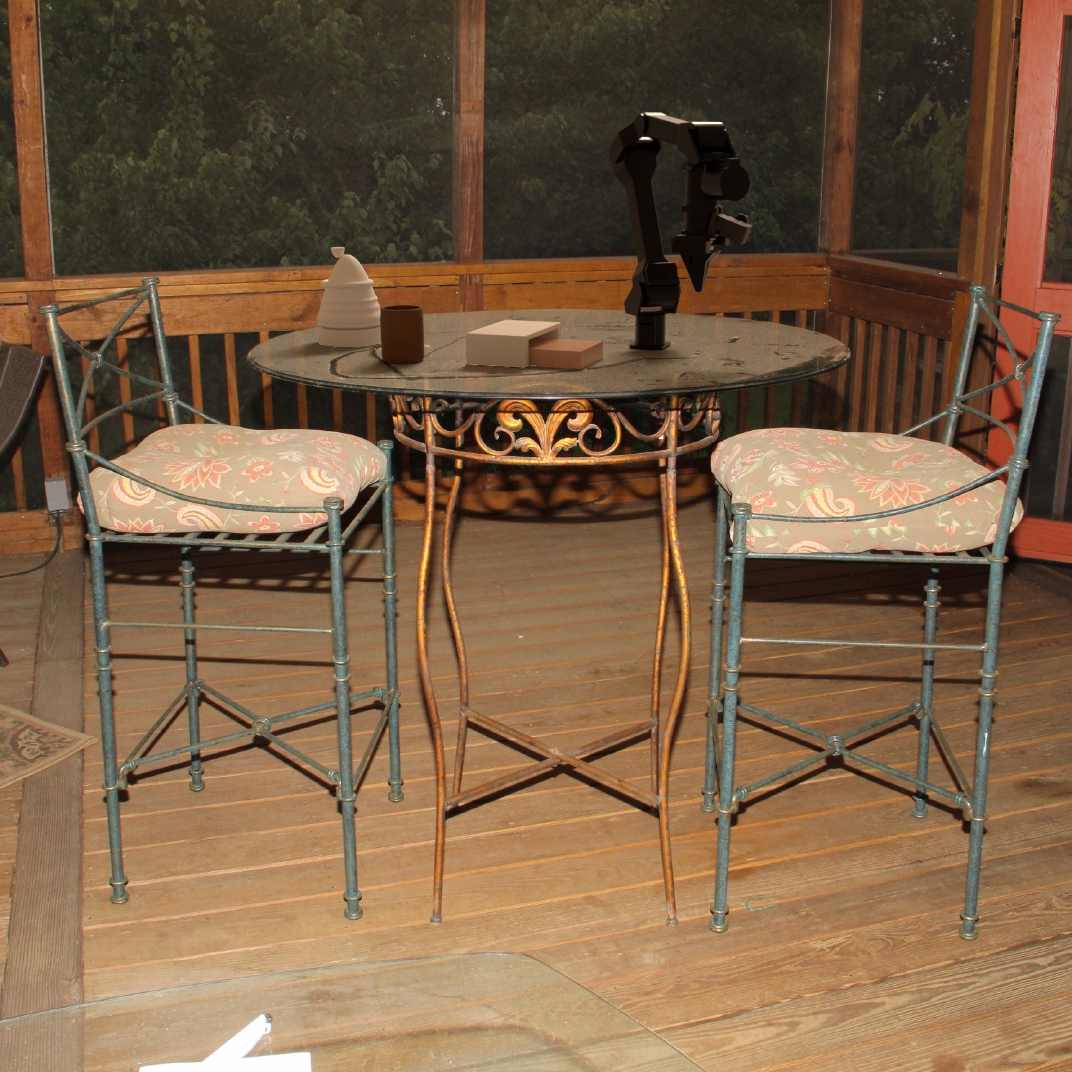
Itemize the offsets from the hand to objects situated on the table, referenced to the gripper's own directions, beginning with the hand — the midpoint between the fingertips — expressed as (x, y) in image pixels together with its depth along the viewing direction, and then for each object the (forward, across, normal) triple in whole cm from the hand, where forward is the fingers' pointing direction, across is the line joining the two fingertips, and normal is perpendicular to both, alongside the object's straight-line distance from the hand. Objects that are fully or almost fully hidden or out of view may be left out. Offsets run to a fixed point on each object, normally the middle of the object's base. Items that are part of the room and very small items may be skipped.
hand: (698, 291), depth 221 cm
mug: (+12, -16, +50) cm, 54 cm away
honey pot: (+12, -2, +68) cm, 69 cm away
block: (+12, -9, +25) cm, 30 cm away
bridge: (+12, -9, +31) cm, 34 cm away
